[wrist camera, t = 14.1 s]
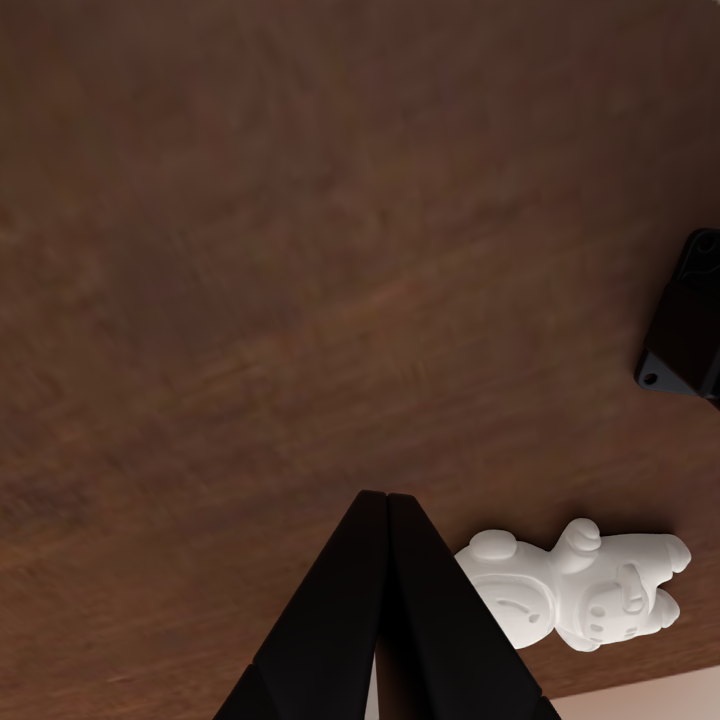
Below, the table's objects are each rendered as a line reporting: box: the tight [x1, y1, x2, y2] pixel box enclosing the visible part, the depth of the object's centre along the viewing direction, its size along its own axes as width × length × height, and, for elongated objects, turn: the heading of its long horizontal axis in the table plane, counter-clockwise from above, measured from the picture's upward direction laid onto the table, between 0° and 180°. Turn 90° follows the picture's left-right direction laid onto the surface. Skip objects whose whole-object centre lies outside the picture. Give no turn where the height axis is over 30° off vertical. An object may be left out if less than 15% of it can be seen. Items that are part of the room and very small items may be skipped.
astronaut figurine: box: [454, 518, 691, 652], centre depth 25 cm, size 9×12×3 cm
